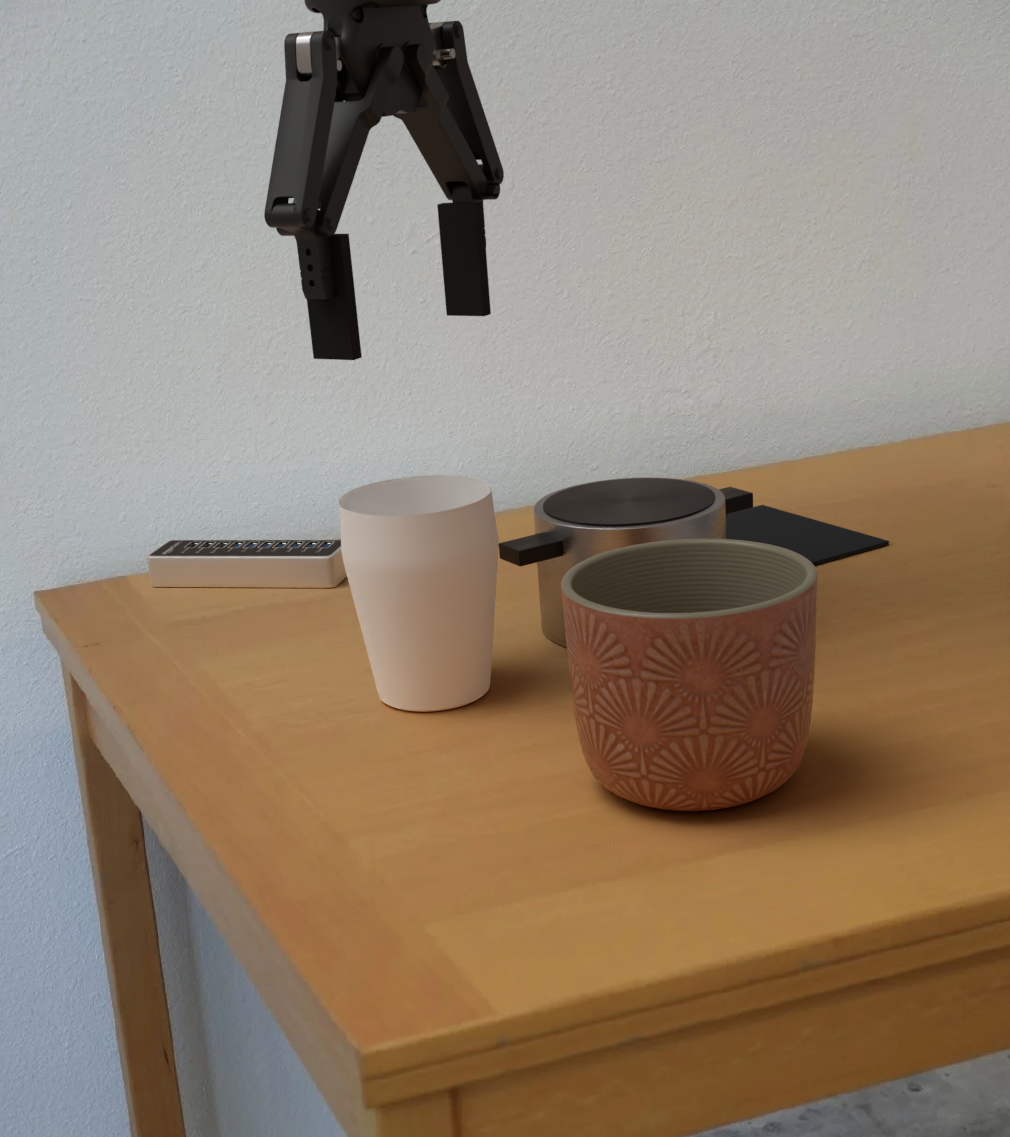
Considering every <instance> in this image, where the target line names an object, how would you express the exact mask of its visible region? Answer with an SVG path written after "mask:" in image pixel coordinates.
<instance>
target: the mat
mask: <svg viewBox="0 0 1010 1137" xmlns="http://www.w3.org/2000/svg"><path fill="white" fill-rule="evenodd" d="M726 539H731V540H743V541H752V542H759V543H764V544H770V545H774V546H778V547H782V548H785V549H788V550H791V551H794V552H796V553H798V554H800V555H802V556H804V557H805V558H807V559H808V560H809V561H811V562H812V564H813V565H814V566H818V565H822V564H826V563H828V562H832V561H835V560H839V559H842V558H846V557H849V556H854V555H858V554H860V553H864V552H868V551H872V550H875V549H878V548H882V547H885V546H889V545H890V541H889V540H888V539H884V538H880V537H877V536H875V535H874V536H873V535H871V534H867V533H862V532H860V531H855V530H852V529H849V528H845V527H842V526H838V525H836V524H835V525H834V524H831V523H828V522H824V521H820V520H817V519H814V518H810V517H807V516H803V515H800V514H797V513H793V512H788V511H786V510H782V509H779V508H775V507H771V506H768V505H764V504H759V505H755V506H753V507H752V508H748V509H745V510H741V511H737V512H733V513H729V514H726Z"/></svg>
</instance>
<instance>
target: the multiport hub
mask: <svg viewBox="0 0 1010 1137" xmlns="http://www.w3.org/2000/svg"><path fill="white" fill-rule="evenodd" d="M146 561H147V567H148V574H149V579H150V585H151V587H153V588H275V589H276V588H283V589H285V588H290V589H292V588H293V589H295V588H296V589H299V588H301V589H304V588H305V589H306V588H307V589H331V588H335V587H338V586H339V585H340V583H342V582H343V581H344V580H345V579H346V578H347V574H346V570H345V566H344V562H343V558H342V552H341V539H172V540H169V541H167V542H165V543H163V544H162V545H161V546H159V547H158V548H156V549H155V550H154V551H152V552H151V553H149V554H148V555H147V556H146Z"/></svg>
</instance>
